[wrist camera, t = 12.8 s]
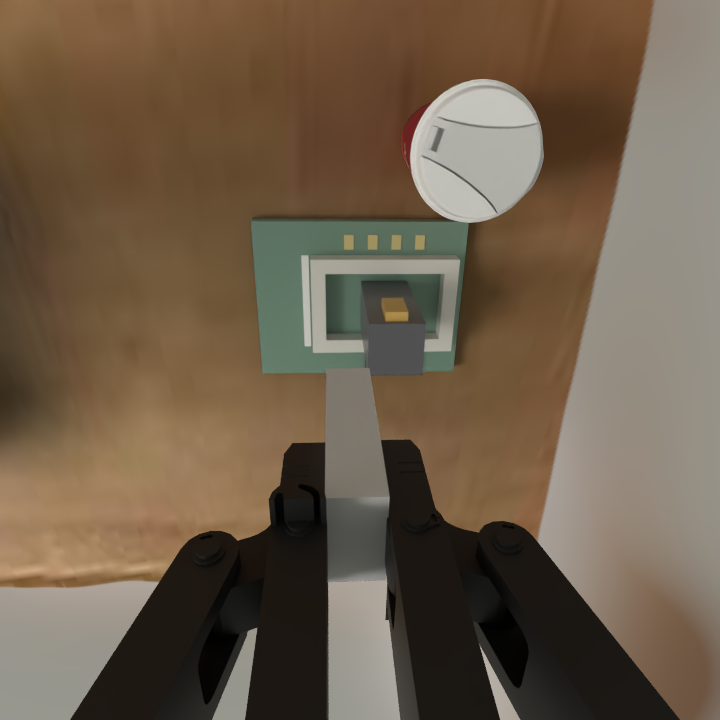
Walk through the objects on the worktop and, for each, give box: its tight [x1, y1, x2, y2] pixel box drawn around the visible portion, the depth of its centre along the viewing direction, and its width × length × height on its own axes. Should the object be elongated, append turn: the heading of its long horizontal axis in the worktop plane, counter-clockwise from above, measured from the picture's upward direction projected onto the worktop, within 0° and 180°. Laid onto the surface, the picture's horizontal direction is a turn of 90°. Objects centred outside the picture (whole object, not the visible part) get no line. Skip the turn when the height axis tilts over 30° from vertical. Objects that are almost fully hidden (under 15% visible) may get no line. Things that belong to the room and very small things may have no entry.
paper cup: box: [401, 79, 544, 223], centre depth 35 cm, size 8×8×14 cm
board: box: [251, 218, 469, 374], centre depth 45 cm, size 18×14×3 cm
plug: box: [360, 281, 426, 376], centre depth 41 cm, size 4×5×10 cm
